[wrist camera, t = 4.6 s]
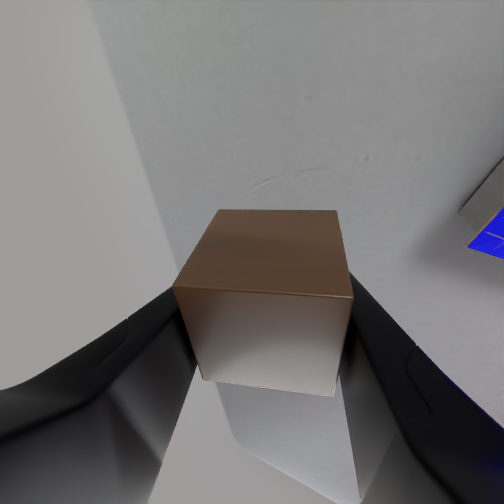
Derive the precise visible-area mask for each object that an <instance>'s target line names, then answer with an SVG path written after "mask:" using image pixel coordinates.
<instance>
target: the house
mask: <svg viewBox="0 0 504 504" xmlns="http://www.w3.org/2000/svg"><path fill="white" fill-rule="evenodd" d="M458 214H459V215H460V216H461V217H462V218H463V219H464V220H465V221H466V222H467V223H468V224H469V225H470V226H471V227H472V228H473V229H475V230H476V231H477V234H476V235H475V236H474V237H473V238H472V239H471V240H470V241H469V242H468V243H467V244H466V246H467V247H468V248H471V249H474V250H477V251H481V252H484V253H487V254H490V255H493V256H496V257H499V258H502V259H504V159H503V160H502V161H501V163H500V164H499V165H498V166H497V167H496V169H495V170H494V171H493V172H492V173H491V174H490V176H489V177H488V178H487V179H486V180H485V182H484V183H483V184H482V185H481V186H480V188H479V189H478V190H477V191H476V192H475V194H474V195H473V196H472V197H471V198H470V200H469V201H468V202H467V203H466V204H465V205H464V207H463V208H462V209H461V210H460V211H459V213H458Z"/></svg>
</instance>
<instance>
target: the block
mask: <svg viewBox="0 0 504 504" xmlns="http://www.w3.org/2000/svg"><path fill="white" fill-rule="evenodd" d="M172 288H173V291H174V294H175V297H176V300H177V303H178V306H179V309H180V312H181V315H182V318H183V321H184V324H185V327H186V330H187V333H188V336H189V339H190V342H191V345H192V348H193V351H194V354H195V357H196V360H197V364H198V366H199V370H200V373H201V376H202V379H203V380H208V381H215V382H223V383H230V384H238V385H245V386H253V387H261V388H268V389H276V390H283V391H291V392H298V393H306V394H314V395H321V396H329V397H334V395H335V390H336V385H337V380H338V375H339V370H340V365H341V360H342V355H343V350H344V345H345V340H346V335H347V330H348V325H349V320H350V315H351V310H352V305H353V300H354V295H353V290H352V285H351V280H350V275H349V270H348V265H347V260H346V255H345V250H344V244H343V239H342V234H341V229H340V224H339V219H338V214H337V211H336V210H224V209H220V210H218V211H217V213H216V215H215V216H214V218H213V220H212V221H211V223H210V224H209V226H208V228H207V229H206V231H205V233H204V234H203V236H202V238H201V239H200V241H199V242H198V244H197V246H196V247H195V249H194V251H193V252H192V254H191V255H190V257H189V259H188V260H187V262H186V264H185V265H184V267H183V268H182V270H181V272H180V273H179V275H178V277H177V279H176V280H175V282H174V283H173V285H172Z"/></svg>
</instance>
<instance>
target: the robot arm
mask: <svg viewBox="0 0 504 504" xmlns="http://www.w3.org/2000/svg"><path fill="white" fill-rule="evenodd" d="M349 275H350V280H351V285H352V290H353V295H354V300H353V305H352V310H351V315H350V320H349V325H348V330H347V335H346V340H345V345H344V350H343V355H342V360H341V365H340V370H339V375H340V381H341V387H342V393H343V399H344V405H345V411H346V416H347V422H348V428H349V434H350V440H351V446H352V452H353V458H354V464H355V469H356V475H357V481H358V487H359V493H360V498H361V504H504V428H502V427H501V426H500V425H499V424H498V423H497V422H496V421H495V420H494V419H493V418H492V417H490V416H489V415H488V414H487V413H486V412H485V411H484V410H483V409H482V408H481V407H480V406H478V405H477V404H476V403H475V402H474V401H473V400H472V399H471V398H470V397H469V396H468V395H466V394H465V393H464V392H463V391H462V390H461V389H460V388H459V387H458V386H457V385H456V384H455V383H454V382H453V381H452V380H451V379H450V378H448V377H447V376H446V375H445V374H444V373H443V372H442V371H441V370H440V369H439V368H438V366H437V365H436V364H435V363H434V362H433V361H432V360H431V359H430V358H429V357H428V356H427V355H426V354H425V353H424V352H423V351H422V350H421V349H420V347H419V346H416V343H415V342H414V341H413V340H412V339H411V338H410V337H409V336H408V335H407V334H406V332H405V331H404V330H403V329H402V328H401V327H400V326H399V325H398V324H397V323H396V322H395V321H394V319H393V318H392V317H391V316H390V315H389V314H388V313H387V312H386V311H385V310H384V309H383V308H382V306H381V305H380V304H379V303H378V302H377V301H376V300H375V299H374V298H373V297H372V296H371V295H370V293H369V292H368V291H367V290H366V289H365V288H364V287H363V286H362V285H361V284H360V283H359V281H358V280H357V279H356V278H355V277H354V276H353V275H352V274H351V273H350V272H349ZM196 367H197V360H196V357H195V354H194V351H193V348H192V345H191V342H190V339H189V336H188V333H187V330H186V327H185V324H184V321H183V318H182V315H181V312H180V309H179V306H178V303H177V300H176V297H175V294H174V291H173V288H172V287H170V288H169V289H167V290H166V291H165V292H164V293H162V294H160V295H159V296H158V297H156V298H155V299H153V300H152V301H150V302H149V303H148V304H146V305H145V306H143V307H142V308H141V309H139V310H138V311H137V312H135V313H134V314H132V315H131V316H129V317H128V319H125V320H123V321H122V322H121V323H119V324H118V325H116V326H115V327H113V328H112V329H111V330H109V331H108V332H106V333H105V334H103V335H102V336H100V337H99V338H97V339H95V340H94V341H92V342H91V343H89V344H87V345H86V346H84V347H83V348H81V349H79V350H78V351H77V352H75V353H73V354H71V355H70V356H68V357H66V358H65V359H63V360H61V361H60V362H58V363H57V364H55V365H53V366H52V367H50V368H48V369H47V370H45V371H43V372H42V373H40V374H38V375H37V376H35V377H33V378H31V379H29V380H27V381H25V382H23V383H21V384H18V385H16V386H13V387H10V388H7V389H4V390H0V504H148V502H149V499H150V496H151V493H152V491H153V488H154V485H155V482H156V479H157V477H158V474H159V471H160V468H161V465H162V460H163V459H164V457H165V454H166V451H167V448H168V445H169V442H170V440H171V437H172V434H173V432H174V428H175V426H176V423H177V420H178V418H179V414H180V412H181V409H182V406H183V403H184V401H185V398H186V395H187V392H188V389H189V387H190V384H191V381H192V378H193V376H194V373H195V369H196Z"/></svg>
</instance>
